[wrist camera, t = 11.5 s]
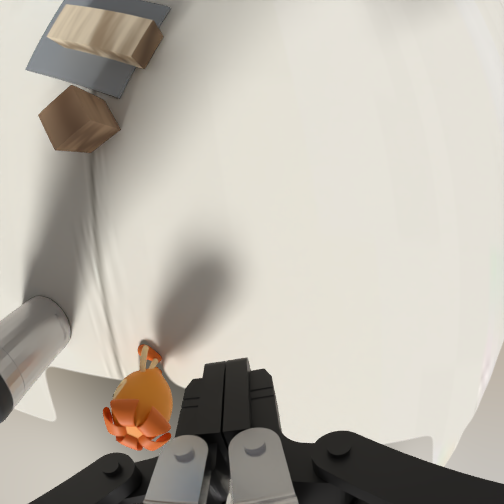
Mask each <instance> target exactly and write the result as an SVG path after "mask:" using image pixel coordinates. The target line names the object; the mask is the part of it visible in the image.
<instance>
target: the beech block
mask: <svg viewBox="0 0 504 504" xmlns="http://www.w3.org/2000/svg"><path fill="white" fill-rule="evenodd" d="M46 37H48V38H50V39H51V40H53V41H55V42H56V43H58V44H59V45H61V46H63V47H65V48H69V49H73V50H78V51H82V52H86V53H90V54H94V55H97V56H101V57H105V58H109V59H112V60H116V61H119V62H122V63H126V64H129V65H132V66H136V67H139V68H142V69H145V68H146V66H147V64H148V62H149V61H150V59H151V57H152V55H153V54H154V52H155V50H156V48H157V47H158V45H159V43H160V42H161V40H162V38H163V35H162V33H161V31H160V30H159V28H158V26H157V25H156V23H155V21H154V20H150V19H146V18H142V17H137V16H133V15H128V14H124V13H119V12H114V11H109V10H103V9H97V8H91V7H84V6H77V5H69V4H66V5H65V6H64V8H63V9H62V11H61V13H60V14H59V16H58V18H57V19H56V21H55V23H54V24H53V26H52V28H51V29H50V31H49V33H48V35H47V36H46Z"/></svg>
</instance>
